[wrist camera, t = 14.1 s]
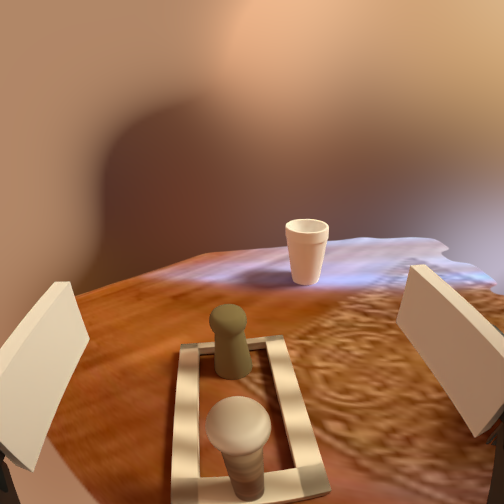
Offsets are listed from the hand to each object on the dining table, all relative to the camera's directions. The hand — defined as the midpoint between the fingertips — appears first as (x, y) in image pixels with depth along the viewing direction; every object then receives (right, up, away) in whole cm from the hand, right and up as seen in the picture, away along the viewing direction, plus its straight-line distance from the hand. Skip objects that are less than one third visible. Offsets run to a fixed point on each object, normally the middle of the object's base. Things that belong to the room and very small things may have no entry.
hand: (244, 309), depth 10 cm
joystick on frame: (-1, -20, +25) cm, 32 cm away
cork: (-3, -16, +34) cm, 37 cm away
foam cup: (+13, -4, +58) cm, 60 cm away
